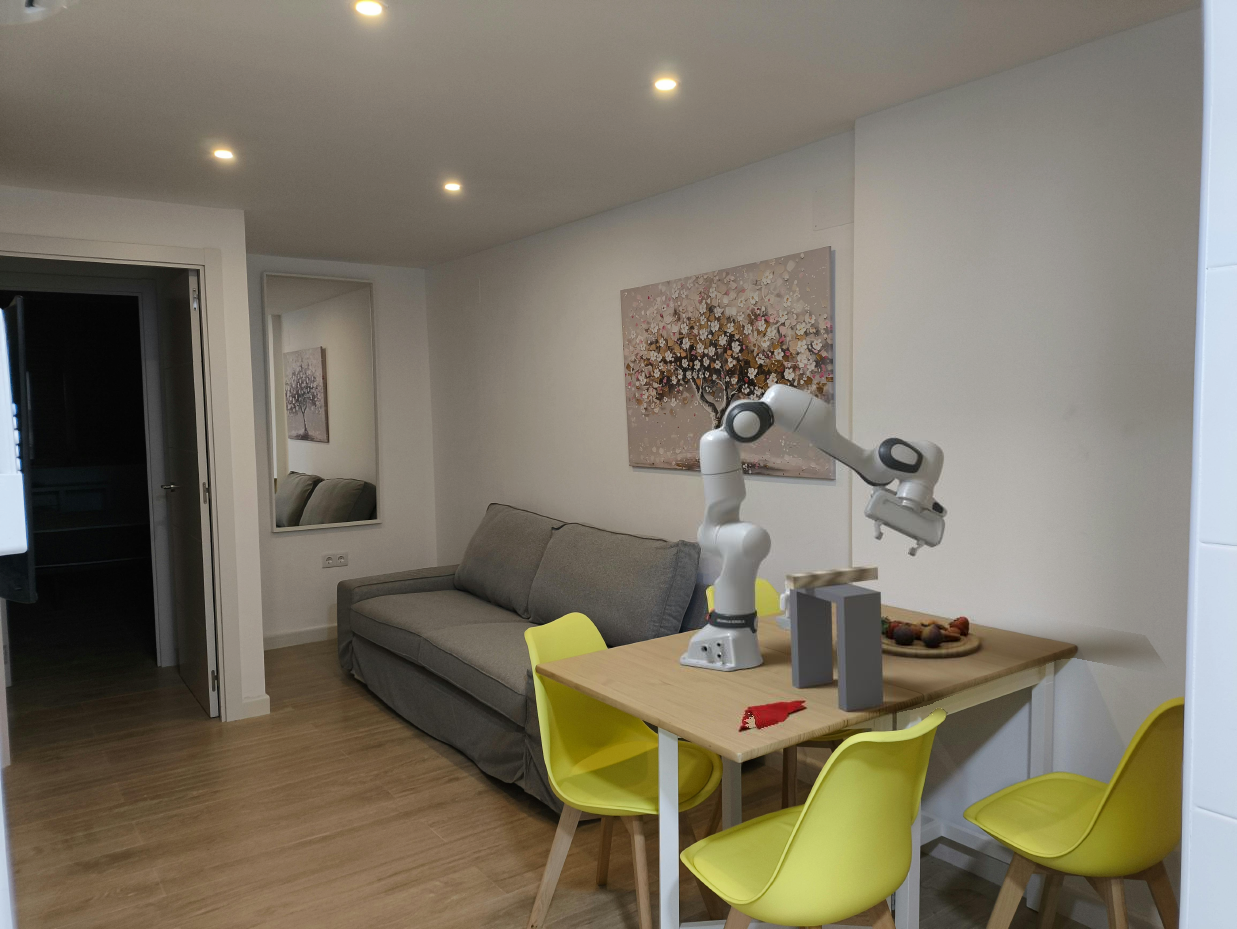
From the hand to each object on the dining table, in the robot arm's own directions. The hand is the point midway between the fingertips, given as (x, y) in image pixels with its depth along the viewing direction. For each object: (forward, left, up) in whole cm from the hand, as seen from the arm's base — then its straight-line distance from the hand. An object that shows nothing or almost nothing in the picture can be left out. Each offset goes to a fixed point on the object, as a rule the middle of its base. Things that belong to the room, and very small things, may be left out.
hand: (894, 546), depth 218 cm
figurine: (-36, +39, -33) cm, 62 cm away
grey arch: (-12, -22, -32) cm, 41 cm away
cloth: (-23, -40, -33) cm, 57 cm away
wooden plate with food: (+3, +31, -33) cm, 45 cm away
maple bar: (-12, -19, -6) cm, 23 cm away
